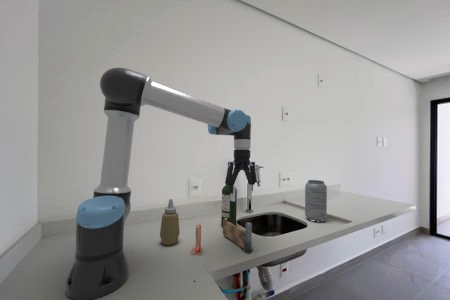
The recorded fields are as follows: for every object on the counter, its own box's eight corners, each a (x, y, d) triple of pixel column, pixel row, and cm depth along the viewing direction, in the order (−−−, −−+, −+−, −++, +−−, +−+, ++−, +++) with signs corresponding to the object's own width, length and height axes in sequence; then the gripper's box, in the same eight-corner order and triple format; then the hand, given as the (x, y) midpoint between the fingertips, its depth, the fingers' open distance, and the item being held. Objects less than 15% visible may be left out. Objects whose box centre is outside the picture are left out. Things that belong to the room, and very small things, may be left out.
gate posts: (251, 246, 80) (252, 219, 80) (254, 254, 73) (255, 225, 73) (193, 245, 79) (193, 218, 79) (190, 254, 72) (191, 224, 72)
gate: (247, 247, 77) (247, 228, 77) (244, 248, 76) (244, 229, 76) (225, 233, 90) (226, 217, 90) (222, 234, 89) (223, 218, 89)
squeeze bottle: (173, 236, 87) (174, 196, 88) (183, 242, 82) (184, 199, 82) (156, 242, 82) (157, 199, 82) (165, 249, 76) (166, 202, 76)
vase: (330, 221, 113) (330, 181, 114) (319, 224, 107) (319, 182, 107) (311, 215, 123) (312, 179, 123) (300, 218, 116) (301, 180, 117)
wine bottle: (218, 226, 101) (219, 168, 102) (228, 222, 107) (229, 168, 108) (229, 230, 96) (230, 169, 97) (239, 226, 102) (240, 169, 103)
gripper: (254, 150, 97) (253, 195, 96) (217, 148, 85) (216, 200, 85) (265, 149, 90) (264, 198, 90) (226, 148, 79) (225, 204, 78)
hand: (241, 199), depth 87 cm, fingers open, 9 cm apart
